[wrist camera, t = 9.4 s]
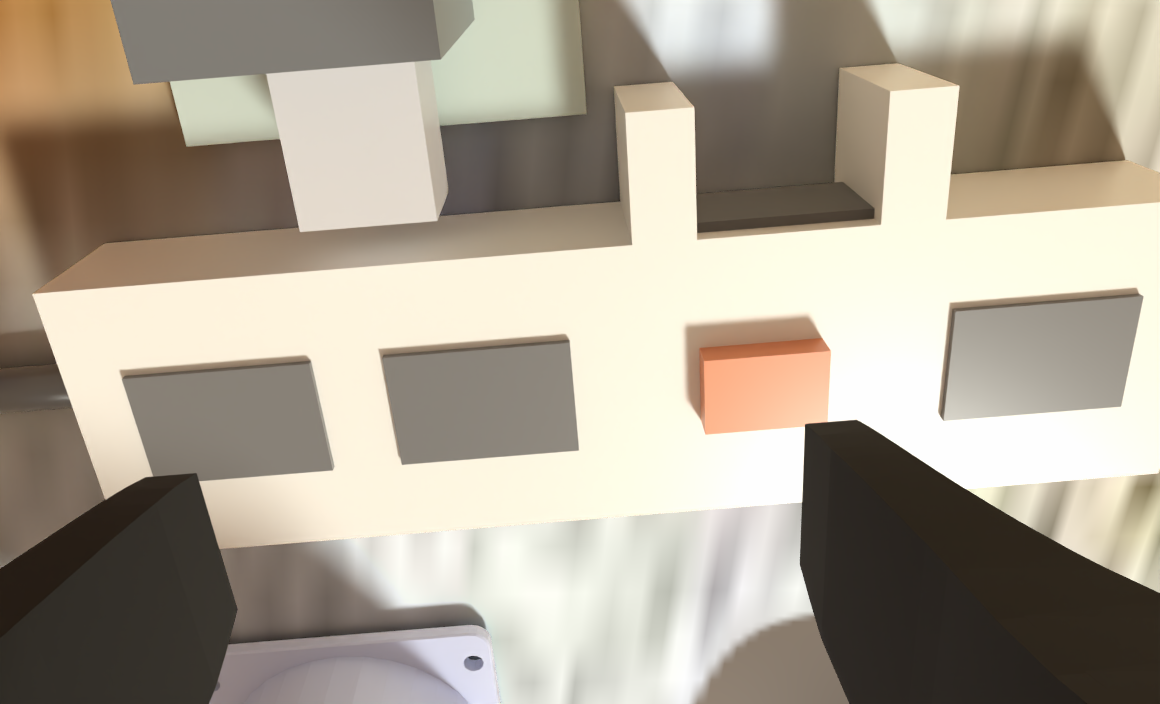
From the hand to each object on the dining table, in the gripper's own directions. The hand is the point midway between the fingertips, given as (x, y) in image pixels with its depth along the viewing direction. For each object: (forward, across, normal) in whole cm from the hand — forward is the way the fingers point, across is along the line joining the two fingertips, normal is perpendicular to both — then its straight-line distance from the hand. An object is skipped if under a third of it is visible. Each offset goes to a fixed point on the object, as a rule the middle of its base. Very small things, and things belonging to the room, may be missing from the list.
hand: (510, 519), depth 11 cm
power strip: (+10, +1, +1) cm, 10 cm away
